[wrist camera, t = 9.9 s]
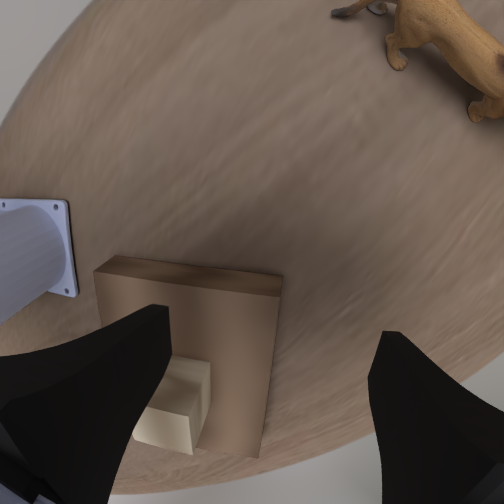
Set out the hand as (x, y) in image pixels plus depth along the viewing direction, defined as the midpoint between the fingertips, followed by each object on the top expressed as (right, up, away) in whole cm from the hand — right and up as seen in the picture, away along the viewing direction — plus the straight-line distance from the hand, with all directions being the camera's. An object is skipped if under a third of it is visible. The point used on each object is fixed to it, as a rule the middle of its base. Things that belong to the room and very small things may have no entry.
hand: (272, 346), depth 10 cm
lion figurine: (+11, +15, +5) cm, 19 cm away
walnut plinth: (-5, -5, +14) cm, 16 cm away
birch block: (-6, -6, +11) cm, 13 cm away
